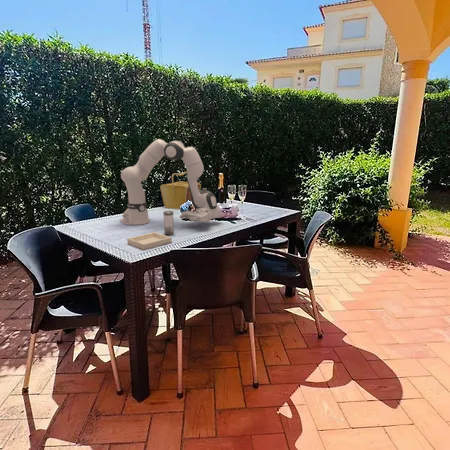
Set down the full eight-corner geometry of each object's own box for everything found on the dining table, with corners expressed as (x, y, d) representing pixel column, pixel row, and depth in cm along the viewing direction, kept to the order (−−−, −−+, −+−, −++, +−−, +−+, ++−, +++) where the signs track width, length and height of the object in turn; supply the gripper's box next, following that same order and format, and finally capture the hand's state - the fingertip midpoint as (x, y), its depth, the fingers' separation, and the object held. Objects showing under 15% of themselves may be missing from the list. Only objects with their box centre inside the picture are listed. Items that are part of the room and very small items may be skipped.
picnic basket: (177, 202, 294) (176, 170, 287) (201, 204, 285) (201, 171, 278) (160, 208, 268) (158, 173, 260) (186, 210, 259) (185, 174, 251)
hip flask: (196, 211, 254) (196, 187, 249) (200, 211, 257) (200, 187, 252) (209, 214, 243) (209, 189, 238) (213, 214, 246) (213, 188, 241)
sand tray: (127, 243, 170) (127, 238, 169) (154, 237, 183) (154, 232, 182) (144, 250, 160) (143, 244, 159) (171, 242, 172) (171, 237, 172)
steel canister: (162, 234, 188) (161, 212, 184) (170, 232, 192) (169, 210, 189) (168, 236, 184) (167, 213, 181) (176, 234, 188) (175, 212, 185)
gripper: (190, 208, 211) (174, 210, 201) (211, 212, 198) (195, 215, 188) (190, 216, 213) (175, 220, 203) (212, 221, 200) (196, 225, 190)
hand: (185, 218), depth 195 cm, fingers open, 8 cm apart
